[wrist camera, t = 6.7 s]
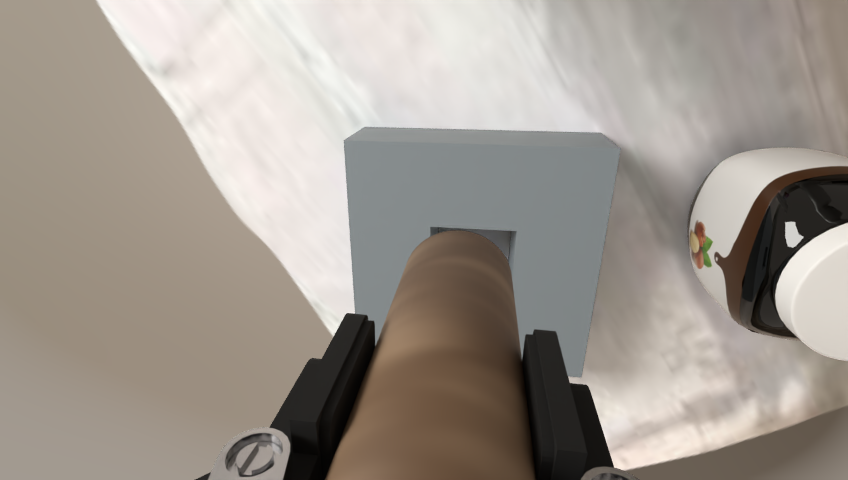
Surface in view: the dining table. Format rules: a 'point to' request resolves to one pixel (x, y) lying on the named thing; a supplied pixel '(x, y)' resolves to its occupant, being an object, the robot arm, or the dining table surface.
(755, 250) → the spread jar
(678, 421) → the dining table surface
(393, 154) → the socket block
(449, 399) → the walnut peg
